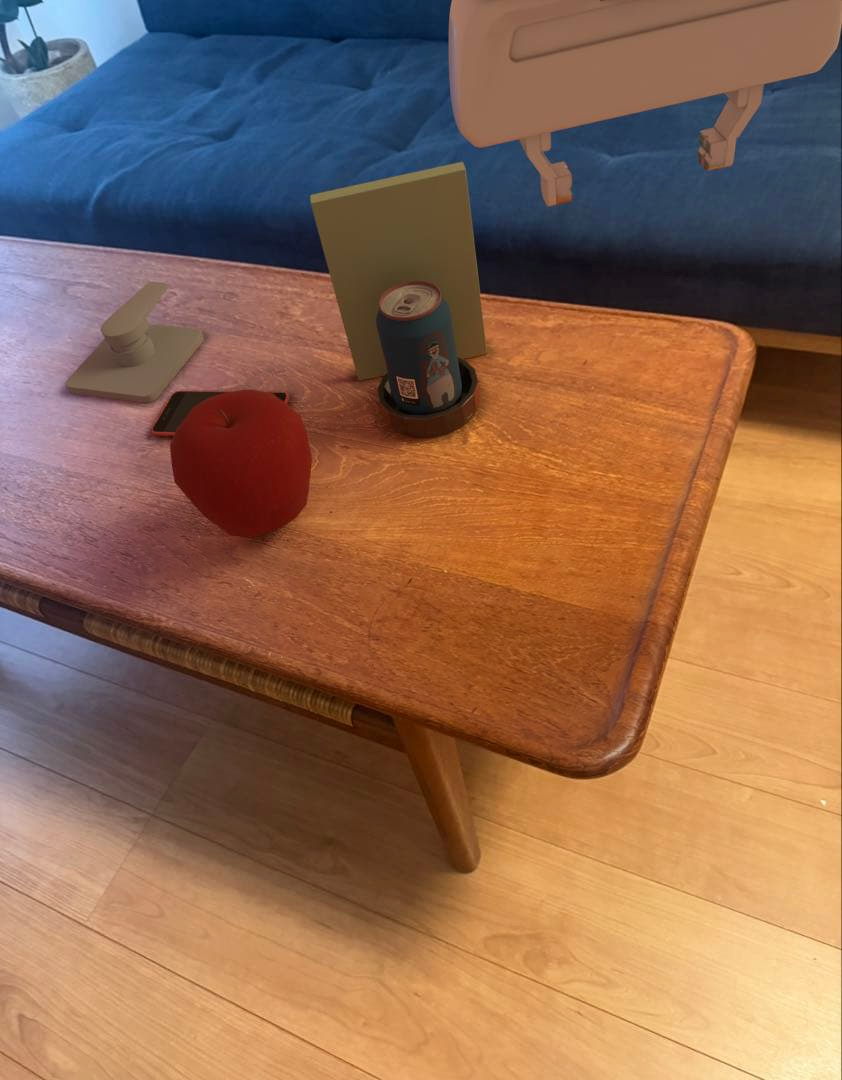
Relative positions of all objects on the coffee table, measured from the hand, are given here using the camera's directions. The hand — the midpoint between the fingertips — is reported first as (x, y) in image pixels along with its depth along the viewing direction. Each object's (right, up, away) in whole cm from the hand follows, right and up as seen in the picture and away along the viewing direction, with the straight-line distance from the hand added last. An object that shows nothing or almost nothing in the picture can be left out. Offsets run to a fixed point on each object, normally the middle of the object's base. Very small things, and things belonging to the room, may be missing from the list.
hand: (635, 182), depth 48 cm
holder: (-12, -7, +35) cm, 37 cm away
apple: (-27, -19, +28) cm, 43 cm away
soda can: (-12, -7, +34) cm, 37 cm away
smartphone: (-34, -8, +39) cm, 52 cm away
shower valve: (-46, 0, +49) cm, 67 cm away
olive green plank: (-13, -2, +39) cm, 41 cm away
